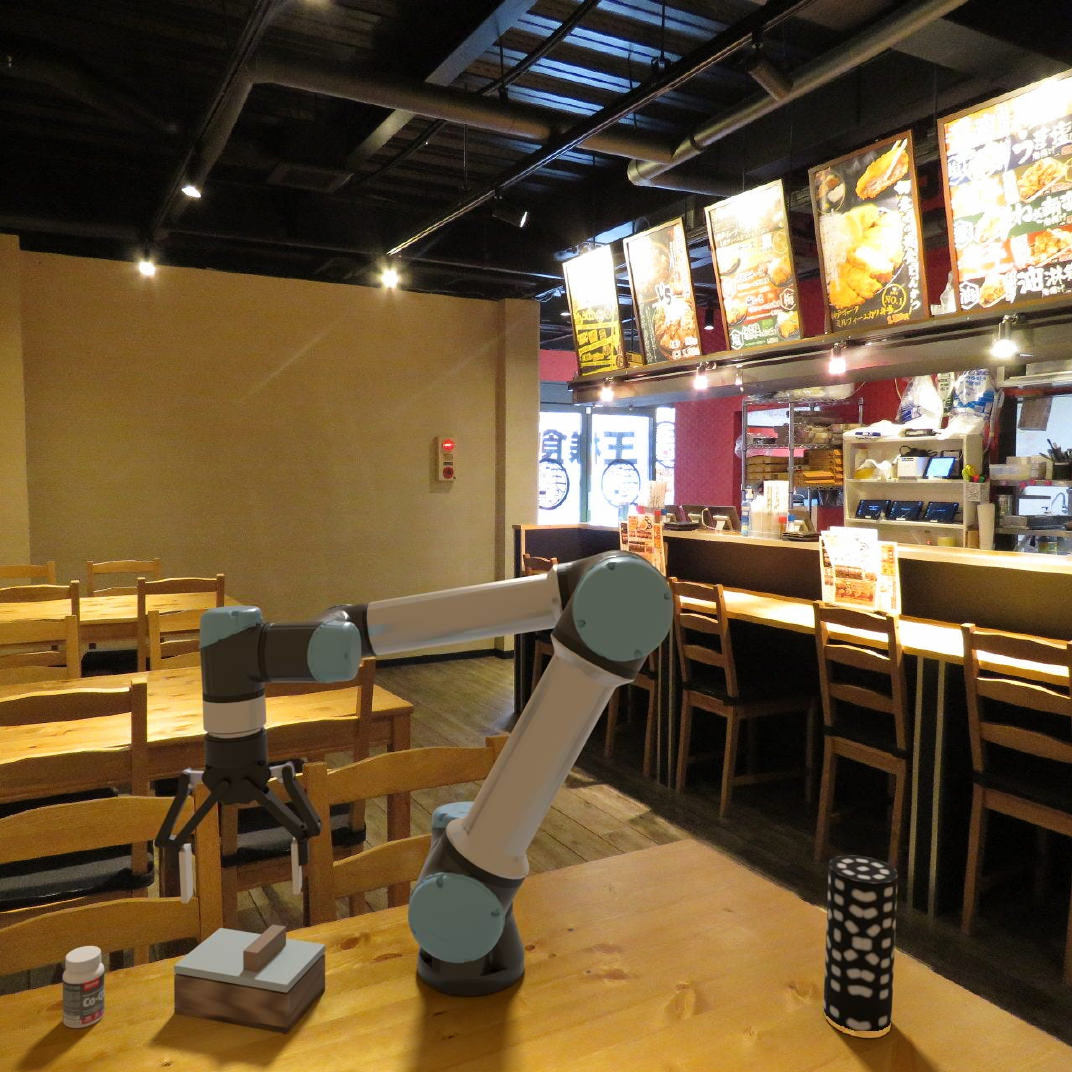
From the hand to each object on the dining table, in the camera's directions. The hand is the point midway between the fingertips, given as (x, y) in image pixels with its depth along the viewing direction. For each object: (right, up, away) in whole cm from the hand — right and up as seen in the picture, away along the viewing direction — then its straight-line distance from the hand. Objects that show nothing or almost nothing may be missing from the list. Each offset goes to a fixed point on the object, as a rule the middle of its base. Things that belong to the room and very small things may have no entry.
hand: (242, 894), depth 113 cm
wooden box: (0, -16, +4) cm, 16 cm away
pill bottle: (-20, -16, 0) cm, 25 cm away
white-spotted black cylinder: (+79, -17, +2) cm, 81 cm away
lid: (0, -10, +3) cm, 11 cm away
